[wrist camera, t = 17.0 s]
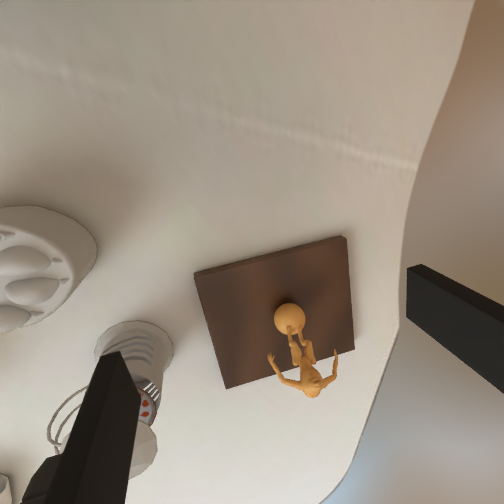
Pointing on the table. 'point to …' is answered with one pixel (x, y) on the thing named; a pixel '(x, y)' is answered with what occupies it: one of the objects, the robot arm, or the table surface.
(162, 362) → the french press
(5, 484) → the woman figurine
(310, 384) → the figurine
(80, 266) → the lumpy-topped squat cylinder
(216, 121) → the table surface
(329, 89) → the table surface
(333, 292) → the walnut board
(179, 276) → the table surface
